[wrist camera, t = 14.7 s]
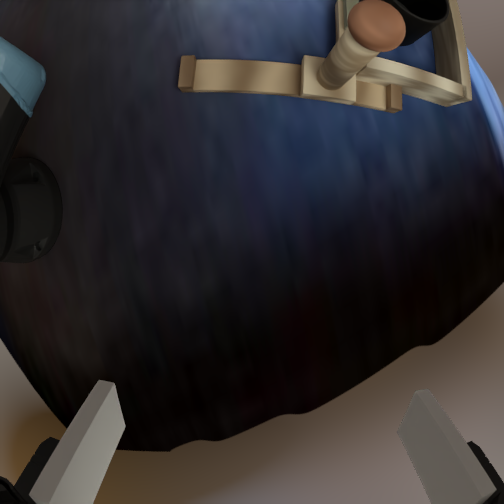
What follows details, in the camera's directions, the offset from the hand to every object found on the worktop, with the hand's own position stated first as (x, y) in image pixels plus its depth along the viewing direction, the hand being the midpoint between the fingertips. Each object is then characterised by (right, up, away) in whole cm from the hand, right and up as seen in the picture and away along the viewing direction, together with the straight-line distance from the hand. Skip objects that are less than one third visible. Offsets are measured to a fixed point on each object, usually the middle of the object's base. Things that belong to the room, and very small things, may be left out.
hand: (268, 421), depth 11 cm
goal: (+19, +36, +18) cm, 45 cm away
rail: (+4, +27, +21) cm, 34 cm away
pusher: (+8, +32, +19) cm, 39 cm away
